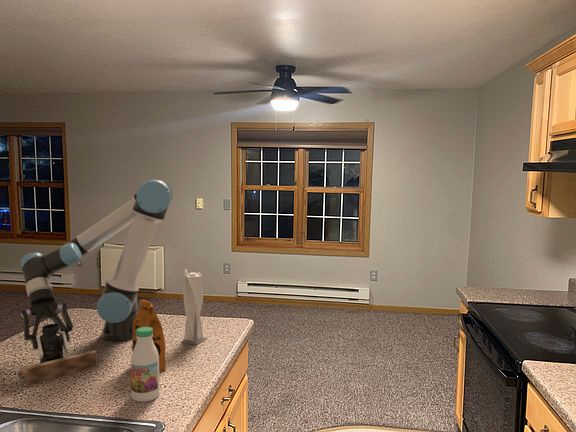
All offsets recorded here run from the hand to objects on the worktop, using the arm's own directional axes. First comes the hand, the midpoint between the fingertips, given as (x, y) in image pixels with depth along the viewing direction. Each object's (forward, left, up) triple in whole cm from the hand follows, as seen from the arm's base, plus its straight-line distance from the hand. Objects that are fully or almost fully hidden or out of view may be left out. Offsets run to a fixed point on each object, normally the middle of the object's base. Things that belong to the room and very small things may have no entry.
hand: (54, 354), depth 141 cm
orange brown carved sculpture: (-29, 0, -7) cm, 30 cm away
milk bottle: (-30, +20, -7) cm, 37 cm away
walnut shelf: (0, -4, -7) cm, 8 cm away
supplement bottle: (+2, -3, -4) cm, 5 cm away
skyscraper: (-43, -23, -7) cm, 49 cm away
